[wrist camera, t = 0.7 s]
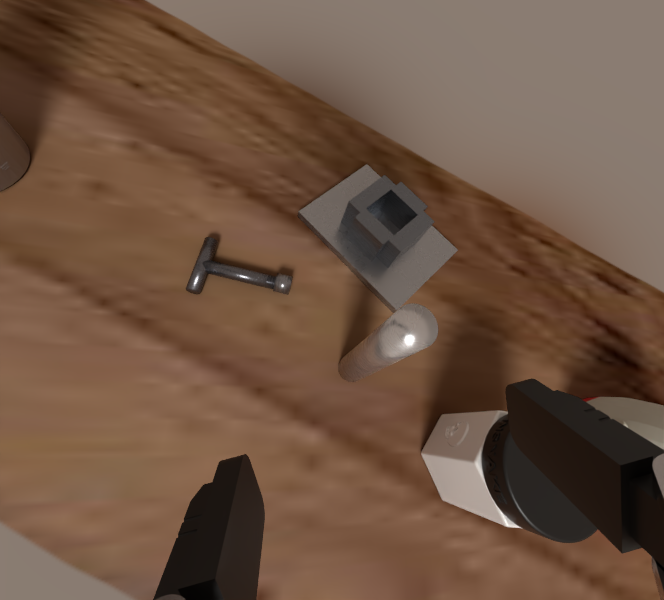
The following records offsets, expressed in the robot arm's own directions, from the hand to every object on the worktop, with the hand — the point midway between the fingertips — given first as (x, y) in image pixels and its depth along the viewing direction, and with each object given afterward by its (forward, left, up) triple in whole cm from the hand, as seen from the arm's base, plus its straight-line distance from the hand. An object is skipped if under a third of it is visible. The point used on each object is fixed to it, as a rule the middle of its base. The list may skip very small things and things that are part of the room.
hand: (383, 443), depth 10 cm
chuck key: (-16, +6, -24) cm, 29 cm away
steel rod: (-1, +8, -24) cm, 25 cm away
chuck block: (-10, +22, -24) cm, 34 cm away
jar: (+13, +10, -24) cm, 29 cm away
